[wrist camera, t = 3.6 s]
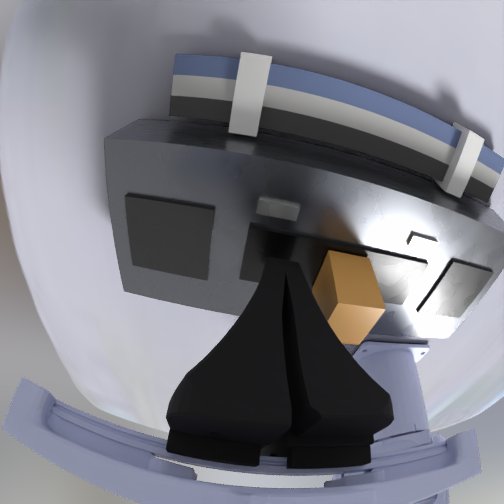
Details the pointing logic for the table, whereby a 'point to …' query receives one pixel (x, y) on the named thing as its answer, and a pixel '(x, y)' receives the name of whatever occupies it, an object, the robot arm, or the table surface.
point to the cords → (331, 117)
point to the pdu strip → (290, 223)
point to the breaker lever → (348, 296)
